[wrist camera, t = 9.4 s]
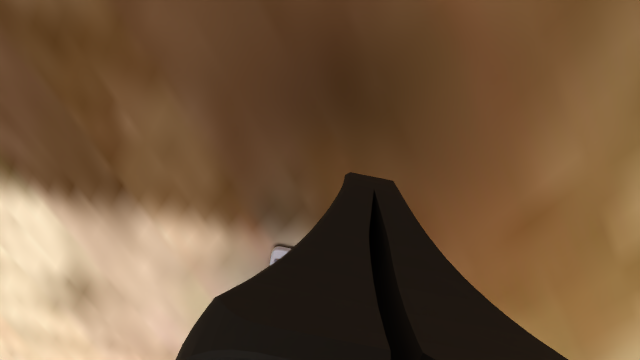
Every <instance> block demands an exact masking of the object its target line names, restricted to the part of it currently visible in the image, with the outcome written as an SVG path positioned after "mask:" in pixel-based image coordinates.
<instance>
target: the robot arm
mask: <svg viewBox="0 0 640 360" xmlns="http://www.w3.org/2000/svg"><path fill="white" fill-rule="evenodd" d="M276 258H277V259H279V260H277V259H276ZM176 360H568V359H566V358H565V357H563V356H562V355H560V354H559V353H558V352H556V351H555V350H553V349H552V348H550V347H549V346H547V345H546V344H544V343H543V342H541V341H540V340H538V339H537V338H535V337H534V336H532V335H531V334H530V333H528V332H527V331H526V330H525V329H523V328H522V327H521V326H519V325H518V324H517V323H515V322H514V321H513V320H511V319H510V318H509V317H508V316H506V315H505V314H504V313H503V312H502V311H500V310H499V309H498V308H497V307H495V306H494V305H493V304H492V303H491V302H490V301H489V300H487V299H486V298H485V297H484V296H483V295H482V294H481V293H480V292H479V291H478V290H476V289H475V288H474V287H473V286H472V285H471V284H470V283H469V282H468V281H467V280H466V279H465V278H464V277H463V276H462V275H461V274H460V273H459V272H458V271H457V270H456V269H455V267H454V266H453V265H452V264H451V263H450V262H449V261H448V260H447V259H446V258H445V256H444V255H443V254H442V253H441V252H440V251H439V249H438V248H437V247H436V245H435V244H434V243H433V242H432V240H431V239H430V238H429V236H428V235H427V234H426V232H425V231H424V230H423V228H422V227H421V225H420V224H419V222H418V221H417V219H416V218H415V216H414V215H413V213H412V212H411V210H410V208H409V207H408V205H407V203H406V202H405V200H404V198H403V197H402V195H401V193H400V192H399V190H398V188H397V187H396V185H395V183H394V182H393V181H391V180H386V179H381V178H376V177H371V176H366V175H361V174H356V173H351V172H350V173H348V174H346V175H345V179H344V183H343V186H342V188H341V190H340V192H339V194H338V195H337V197H336V199H335V200H334V202H333V203H332V205H331V206H330V208H329V209H328V210H327V212H326V213H325V214H324V216H323V217H322V218H321V219H320V220H319V222H318V223H317V224H316V225H315V226H314V228H313V229H312V230H311V231H310V232H309V233H308V234H307V235H306V236H305V237H304V238H303V239H302V240H301V241H300V242H299V243H298V244H297V245H295V246H294V247H293V248H292V249H290V248H286V247H281V246H277V247H275V248H273V250H272V254H271V259H270V265H269V267H267V268H266V269H264V270H263V271H261V272H260V273H258V274H257V275H255V276H254V277H252V278H251V279H249V280H247V281H246V282H244V283H242V284H240V285H238V286H236V287H234V288H232V289H230V290H229V291H227V292H225V293H223V294H221V295H219V296H217V297H215V298H214V299H213V301H212V302H211V303H210V304H209V306H208V307H207V308H206V310H205V311H204V312H203V314H202V315H201V316H200V318H199V319H198V321H197V322H196V324H195V325H194V327H193V328H192V330H191V331H190V333H189V335H188V336H187V338H186V340H185V341H184V343H183V345H182V347H181V349H180V351H179V353H178V356H177V358H176Z"/></svg>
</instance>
